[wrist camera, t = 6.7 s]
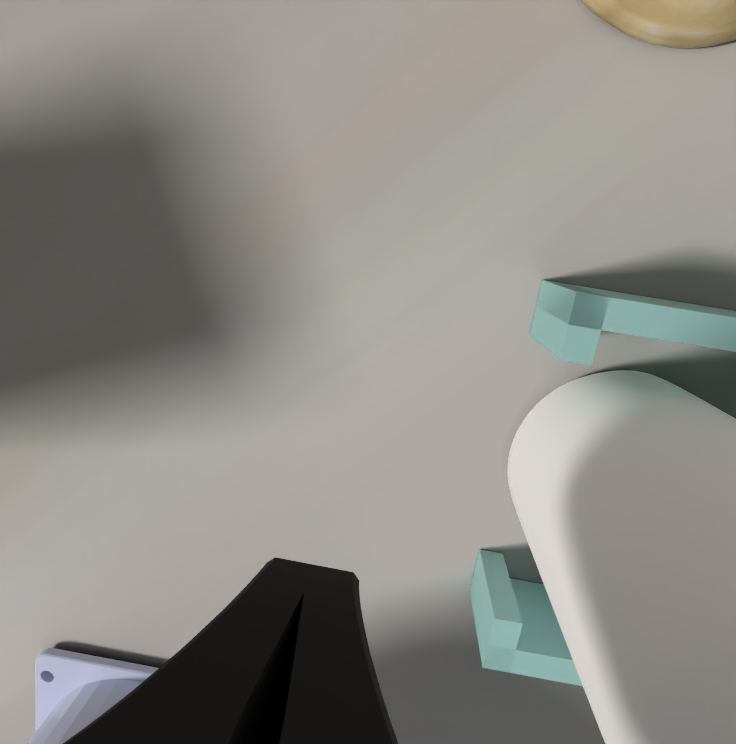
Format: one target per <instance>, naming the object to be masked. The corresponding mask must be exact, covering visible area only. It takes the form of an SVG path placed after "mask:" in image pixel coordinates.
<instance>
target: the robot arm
mask: <svg viewBox="0 0 736 744" xmlns="http://www.w3.org/2000/svg"><path fill="white" fill-rule="evenodd" d="M50 672H51V673H50ZM35 704H36V732H35V734H34V735H33V736H32V738H31V739H30V740H29V742H28V743H27V744H398V742H397V739H396V736H395V733H394V730H393V727H392V725H391V722H390V719H389V716H388V713H387V710H386V707H385V703H384V700H383V697H382V694H381V690H380V687H379V683H378V680H377V676H376V673H375V669H374V665H373V662H372V658H371V655H370V651H369V646H368V642H367V638H366V633H365V628H364V623H363V618H362V612H361V605H360V597H359V580H358V578H357V577H356V576H355V574H354V573H353V572H348V571H343V570H338V569H333V568H327V567H322V566H317V565H312V564H306V563H301V562H296V561H291V560H286V559H280V558H274V559H272V560H271V561H269V562H267V563H266V565H265V566H264V567H263V568H262V569H261V571H260V572H259V573H258V574H257V575H256V576H255V577H254V578H253V579H252V581H251V582H250V583H249V584H248V585H247V586H246V587H245V588H244V589H243V590H242V591H241V592H240V593H239V594H238V595H237V596H236V597H235V598H234V599H233V600H232V601H231V603H230V604H229V605H228V606H227V607H226V608H225V609H224V610H223V611H222V612H221V613H219V614H218V615H217V616H216V617H215V618H214V619H213V620H212V621H211V622H210V623H209V624H208V625H207V626H206V627H205V628H204V629H203V630H201V631H200V632H199V633H198V634H197V635H196V636H195V637H194V638H193V639H192V640H191V641H190V642H189V643H188V644H186V645H185V646H184V647H183V648H182V649H181V650H180V651H179V652H178V653H176V654H175V655H174V656H173V657H172V658H170V659H169V660H168V661H167V662H166V663H165V664H163V665H162V666H161V667H160V668H156V667H151V666H146V665H140V664H135V663H130V662H124V661H119V660H114V659H108V658H103V657H98V656H93V655H87V654H82V653H77V652H71V651H66V650H61V649H55V648H47V649H44V650H43V651H42V652H41V654H40V655H39V656H38V657H37V658H36V662H35Z"/></svg>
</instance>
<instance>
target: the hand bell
mask: <svg viewBox="0 0 736 744" xmlns="http://www.w3.org/2000/svg"><path fill="white" fill-rule="evenodd" d="M582 1H583V2H584V3H585V4H586V5H587V6H588V7H589V8H590V9H591V10H592V11H593V12H594V13H595V14H596V15H598V16H599V17H600V18H602V19H603V20H604V21H606V22H607V23H609V24H610V25H612V26H614V27H615V28H617V29H619V30H620V31H621V32H623V33H624V34H625V35H628V36H631V37H634V38H636V39H639V40H641V41H643V42H647V43H650V44H653V45H662V46H666V47H670V48H685V49H689V48H699V47H710V46H714V45H719V44H723V43H728V42H731V41H735V40H736V0H582Z"/></svg>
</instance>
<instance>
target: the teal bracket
mask: <svg viewBox="0 0 736 744" xmlns="http://www.w3.org/2000/svg"><path fill="white" fill-rule="evenodd" d="M601 330H604V331H610V332H616V333H622V334H628V335H634V336H640V337H647V338H653V339H659V340H665V341H671V342H677V343H683V344H690V345H696V346H702V347H708V348H714V349H720V350H726V351H733V352H736V311H734V310H727V309H721V308H715V307H709V306H702V305H696V304H690V303H684V302H677V301H671V300H665V299H659V298H652V297H646V296H640V295H634V294H627V293H621V292H615V291H609V290H603V289H596V288H590V287H584V286H578V285H571V284H565V283H559V282H553V281H546V280H542V284H541V288H540V292H539V297H538V301H537V305H536V309H535V314H534V318H533V322H532V327H531V331H530V336H532V337H533V338H534V339H535V340H536V341H537V342H539V343H540V344H541V345H542V346H543V347H544V348H546V349H547V350H548V351H549V352H550V353H551V354H553V355H554V356H555V357H556V358H557V359H558V360H560V361H566V362H573V363H579V364H585V365H591V366H592V363H593V359H594V356H595V352H596V348H597V344H598V341H599V337H600V333H601ZM470 596H471V602H472V608H473V614H474V620H475V626H476V632H477V638H478V644H479V650H480V656H481V662H482V668H487V669H492V670H497V671H503V672H508V673H514V674H519V675H525V676H530V677H535V678H541V679H546V680H552V681H557V682H562V683H568V684H573V685H579V686H583V685H582V683H581V680H580V677H579V675H578V672H577V670H576V667H575V664H574V662H573V659H572V657H571V654H570V651H569V649H568V646H567V644H566V641H565V638H564V636H563V633H562V631H561V628H560V625H559V623H558V620H557V618H556V615H555V612H554V610H553V607H552V604H551V602H550V599H549V597H548V594H547V591H546V589H545V586H544V584H540V583H534V582H528V581H523V580H517V579H512V578H510V577H509V574H508V570H507V567H506V563H505V560H504V556H503V553H497V552H492V551H486V550H481V549H480V550H479V554H478V558H477V562H476V567H475V571H474V575H473V580H472V584H471V588H470Z"/></svg>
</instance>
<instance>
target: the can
mask: <svg viewBox="0 0 736 744" xmlns="http://www.w3.org/2000/svg"><path fill="white" fill-rule="evenodd" d="M508 483H509V488H510V493H511V496H512V500H513V503H514V506H515V509H516V511H517V514H518V517H519V520H520V522H521V525H522V528H523V531H524V533H525V536H526V539H527V541H528V544H529V547H530V549H531V552H532V555H533V557H534V560H535V562H536V565H537V568H538V570H539V573H540V576H541V578H542V581H543V583H544V586H545V589H546V591H547V594H548V597H549V599H550V602H551V604H552V607H553V610H554V612H555V615H556V618H557V620H558V623H559V625H560V628H561V631H562V633H563V636H564V638H565V641H566V644H567V646H568V649H569V651H570V654H571V657H572V659H573V662H574V664H575V667H576V670H577V672H578V675H579V677H580V680H581V683H582V685H583V688H584V690H585V693H586V695H587V698H588V701H589V703H590V706H591V708H592V711H593V714H594V716H595V719H596V721H597V724H598V726H599V729H600V731H601V734H602V737H603V739H604V742H605V744H736V418H734V417H732V416H730V415H729V414H727V413H725V412H723V411H721V410H720V409H718V408H716V407H714V406H713V405H711V404H709V403H707V402H705V401H704V400H702V399H700V398H698V397H696V396H695V395H693V394H691V393H689V392H687V391H686V390H684V389H682V388H680V387H678V386H676V385H674V384H672V383H670V382H668V381H666V380H664V379H662V378H659V377H657V376H654V375H651V374H648V373H644V372H639V371H628V370H619V371H608V372H601V373H596V374H592V375H588V376H584V377H581V378H578V379H575V380H572V381H570V382H568V383H566V384H564V385H562V386H560V387H558V388H557V389H555V390H554V391H552V392H551V393H549V394H548V395H547V396H545V397H544V398H543V399H542V400H541V401H540V402H539V403H538V404H537V405H536V406H535V407H534V408H533V409H532V410H531V411H530V412H529V413H528V415H527V416H526V417H525V419H524V420H523V422H522V423H521V425H520V427H519V429H518V431H517V433H516V435H515V437H514V440H513V442H512V445H511V449H510V453H509V459H508Z"/></svg>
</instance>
